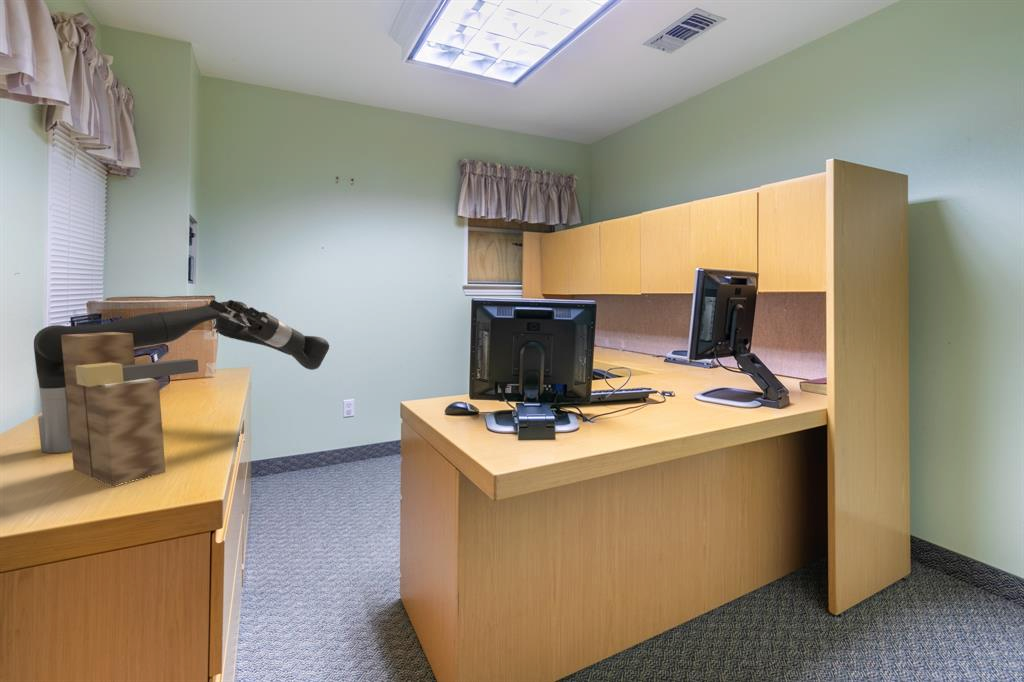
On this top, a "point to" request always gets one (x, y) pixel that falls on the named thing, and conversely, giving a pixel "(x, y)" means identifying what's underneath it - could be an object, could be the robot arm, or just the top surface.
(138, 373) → the bar
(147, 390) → the brown stepped block
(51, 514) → the top surface
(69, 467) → the top surface
